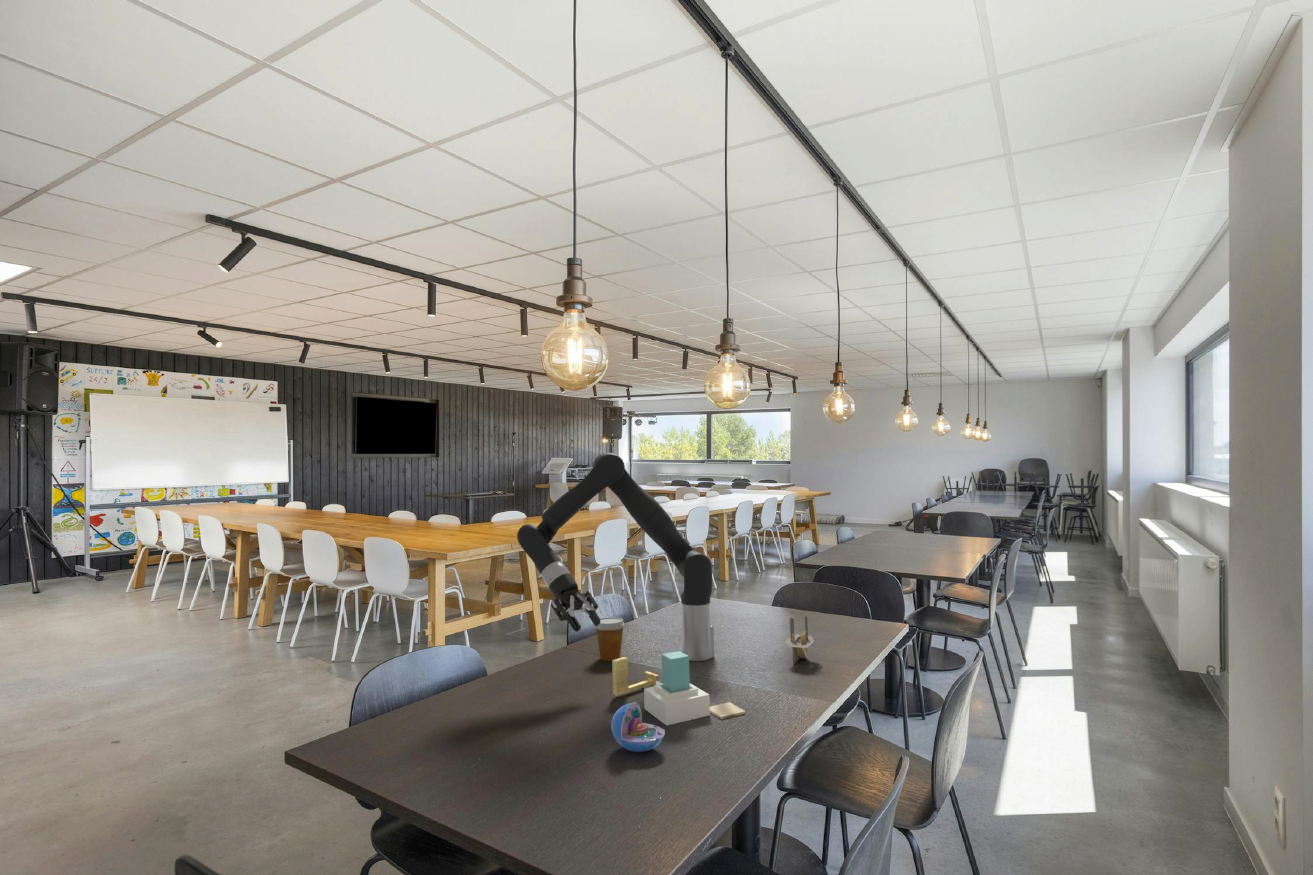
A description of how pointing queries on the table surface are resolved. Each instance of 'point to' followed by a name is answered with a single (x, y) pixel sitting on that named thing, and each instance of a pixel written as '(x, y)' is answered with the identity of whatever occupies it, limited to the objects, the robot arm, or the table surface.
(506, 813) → the table surface
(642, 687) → the key socket
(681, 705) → the housing
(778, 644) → the table surface
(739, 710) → the pad
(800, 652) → the two-pronged ringed stand
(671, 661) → the teal upright prism
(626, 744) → the cell model
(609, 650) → the disposable coffee cup
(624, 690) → the key lever
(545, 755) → the table surface
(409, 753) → the table surface
